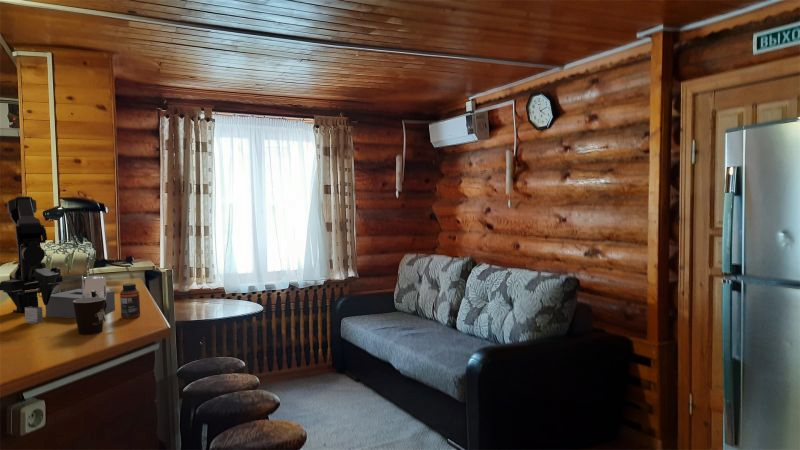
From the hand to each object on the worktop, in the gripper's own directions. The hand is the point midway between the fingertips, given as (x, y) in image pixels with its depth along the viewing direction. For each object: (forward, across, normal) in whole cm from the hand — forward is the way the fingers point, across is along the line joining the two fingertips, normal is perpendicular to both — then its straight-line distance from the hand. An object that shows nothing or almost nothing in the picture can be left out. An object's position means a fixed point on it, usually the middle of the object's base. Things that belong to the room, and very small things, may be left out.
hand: (33, 307), depth 188 cm
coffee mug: (+5, -4, -29) cm, 29 cm away
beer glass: (+5, +5, -20) cm, 21 cm away
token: (+5, 0, 0) cm, 5 cm away
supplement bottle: (+5, +15, -25) cm, 30 cm away
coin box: (+5, +15, -4) cm, 16 cm away
